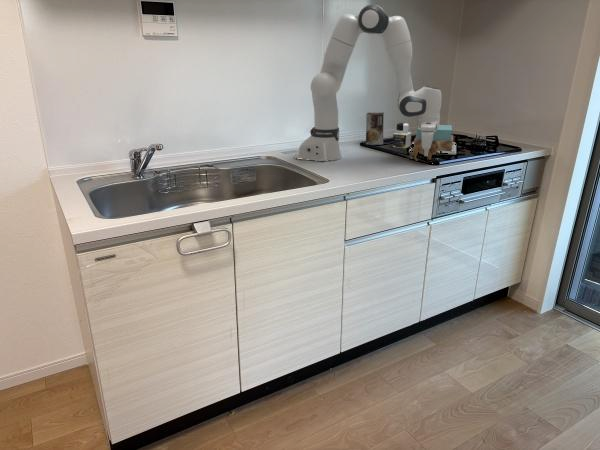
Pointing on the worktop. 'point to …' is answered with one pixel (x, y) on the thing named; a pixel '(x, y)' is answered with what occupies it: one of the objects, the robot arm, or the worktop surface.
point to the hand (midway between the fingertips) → (426, 154)
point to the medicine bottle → (402, 136)
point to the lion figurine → (434, 148)
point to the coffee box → (374, 128)
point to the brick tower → (440, 139)
